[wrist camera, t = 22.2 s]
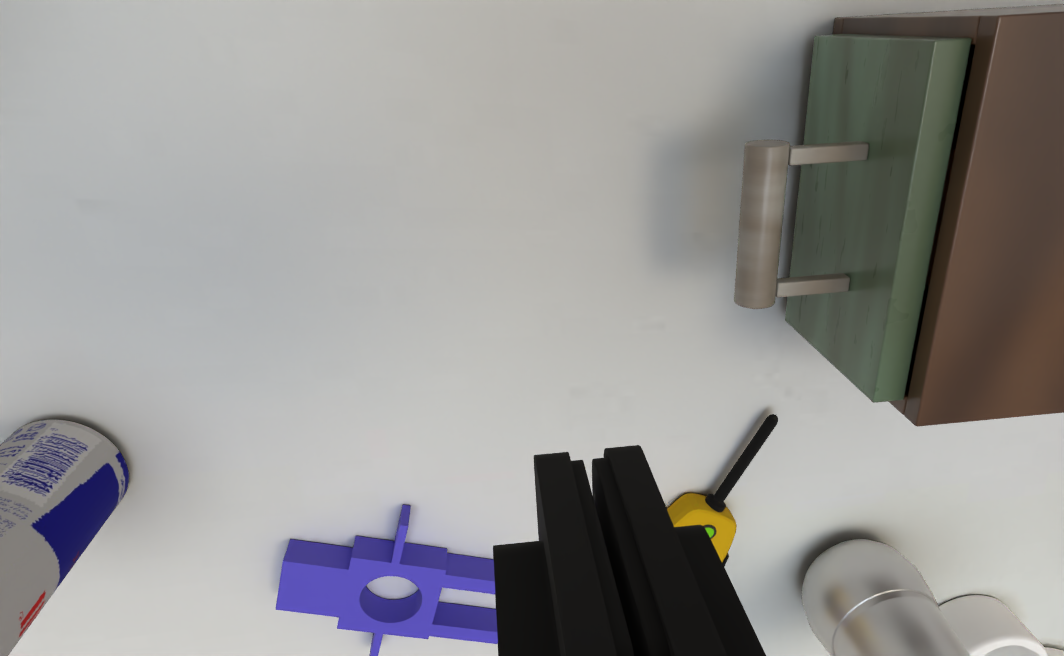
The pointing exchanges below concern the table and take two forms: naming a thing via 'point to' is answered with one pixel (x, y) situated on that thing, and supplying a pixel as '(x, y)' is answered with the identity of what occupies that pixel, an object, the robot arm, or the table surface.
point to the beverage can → (50, 512)
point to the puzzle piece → (340, 590)
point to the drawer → (858, 201)
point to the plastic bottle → (874, 604)
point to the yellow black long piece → (719, 499)
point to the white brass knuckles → (991, 628)
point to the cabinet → (994, 223)
